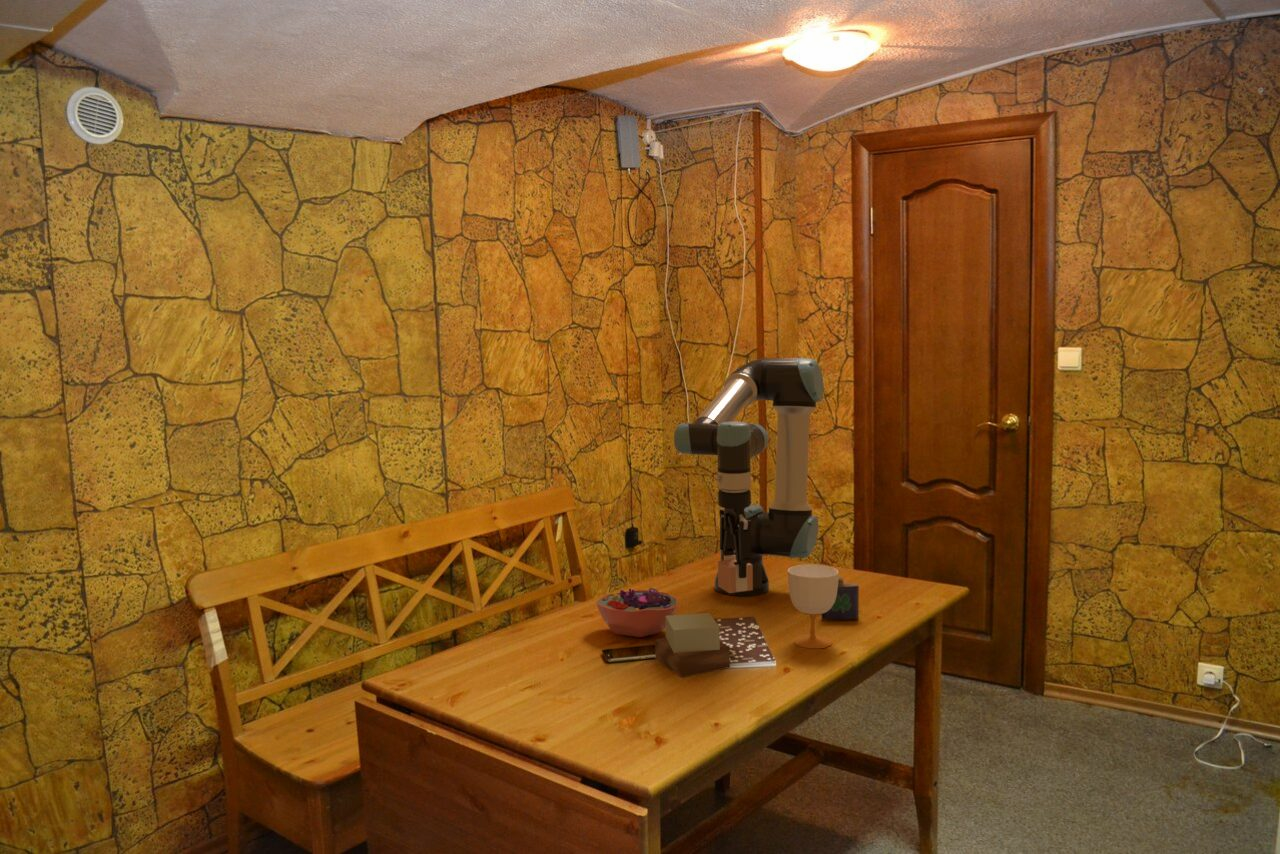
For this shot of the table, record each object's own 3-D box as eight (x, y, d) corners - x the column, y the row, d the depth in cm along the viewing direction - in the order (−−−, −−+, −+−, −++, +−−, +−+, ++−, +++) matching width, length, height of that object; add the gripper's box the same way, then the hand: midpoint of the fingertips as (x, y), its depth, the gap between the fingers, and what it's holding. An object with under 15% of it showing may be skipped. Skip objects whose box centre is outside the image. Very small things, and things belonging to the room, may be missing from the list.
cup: (848, 641, 217) (848, 569, 215) (820, 654, 208) (821, 580, 207) (805, 630, 225) (805, 561, 223) (777, 643, 216) (777, 571, 215)
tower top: (665, 637, 208) (665, 615, 208) (709, 634, 210) (709, 612, 209) (673, 652, 198) (673, 630, 198) (719, 649, 200) (719, 627, 199)
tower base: (655, 661, 207) (655, 639, 207) (701, 652, 213) (701, 631, 212) (681, 679, 197) (681, 656, 196) (729, 669, 202) (729, 646, 201)
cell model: (606, 620, 235) (605, 576, 234) (684, 624, 231) (683, 580, 230) (589, 643, 219) (587, 596, 217) (672, 648, 215) (672, 600, 213)
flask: (857, 617, 234) (857, 576, 233) (859, 621, 231) (860, 579, 230) (820, 617, 235) (820, 576, 233) (822, 621, 232) (822, 579, 230)
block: (718, 586, 219) (717, 561, 218) (741, 583, 221) (740, 558, 220) (729, 593, 213) (729, 567, 212) (752, 590, 215) (752, 564, 214)
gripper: (704, 483, 222) (706, 576, 225) (734, 498, 204) (736, 600, 207) (733, 480, 224) (735, 573, 227) (766, 495, 206) (767, 596, 209)
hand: (735, 586), depth 217 cm, fingers closed on block, 6 cm apart
